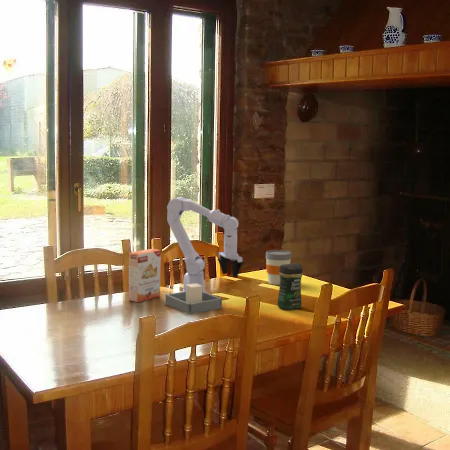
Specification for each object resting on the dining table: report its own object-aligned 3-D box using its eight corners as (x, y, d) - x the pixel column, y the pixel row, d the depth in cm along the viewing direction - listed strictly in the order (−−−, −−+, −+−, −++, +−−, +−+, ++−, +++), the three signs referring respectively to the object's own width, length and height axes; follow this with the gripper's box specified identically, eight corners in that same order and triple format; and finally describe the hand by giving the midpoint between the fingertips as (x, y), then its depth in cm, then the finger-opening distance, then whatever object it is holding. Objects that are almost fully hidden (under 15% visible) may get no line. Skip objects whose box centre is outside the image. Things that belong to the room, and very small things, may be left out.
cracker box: (138, 303, 252) (138, 254, 249) (128, 300, 256) (127, 252, 252) (161, 296, 263) (161, 249, 260) (151, 294, 267) (151, 247, 264)
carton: (185, 303, 250) (185, 284, 249) (196, 301, 253) (196, 283, 252) (191, 306, 246) (191, 287, 245) (201, 304, 248) (202, 286, 247)
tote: (165, 303, 252) (165, 294, 251) (196, 298, 261) (197, 289, 261) (189, 314, 237) (189, 304, 237) (221, 308, 247) (222, 298, 246)
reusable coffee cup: (295, 281, 294) (296, 251, 292) (283, 287, 284) (284, 255, 281) (272, 278, 301) (273, 248, 299) (260, 283, 290) (261, 252, 288)
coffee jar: (285, 311, 244) (287, 266, 241) (274, 306, 251) (275, 263, 248) (304, 308, 249) (306, 264, 246) (293, 303, 256) (294, 261, 253)
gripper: (248, 246, 259) (247, 277, 261) (227, 241, 270) (227, 271, 272) (235, 248, 255) (234, 279, 257) (215, 243, 266) (214, 273, 268)
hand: (229, 275), depth 264 cm, fingers open, 7 cm apart
